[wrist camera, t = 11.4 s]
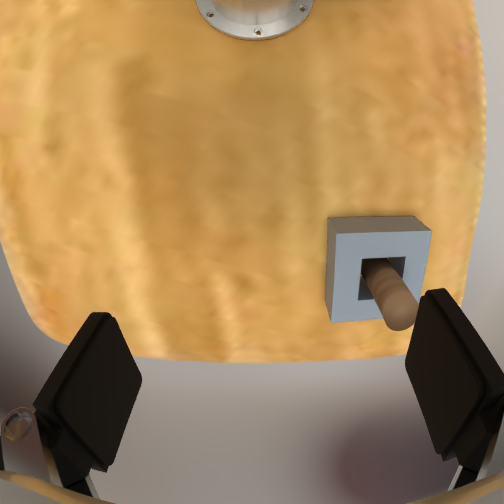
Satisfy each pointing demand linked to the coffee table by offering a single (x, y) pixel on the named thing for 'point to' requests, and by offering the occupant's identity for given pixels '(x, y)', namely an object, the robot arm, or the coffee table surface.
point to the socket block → (371, 246)
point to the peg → (390, 293)
